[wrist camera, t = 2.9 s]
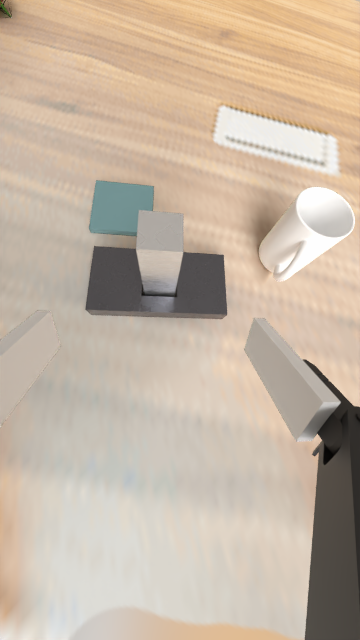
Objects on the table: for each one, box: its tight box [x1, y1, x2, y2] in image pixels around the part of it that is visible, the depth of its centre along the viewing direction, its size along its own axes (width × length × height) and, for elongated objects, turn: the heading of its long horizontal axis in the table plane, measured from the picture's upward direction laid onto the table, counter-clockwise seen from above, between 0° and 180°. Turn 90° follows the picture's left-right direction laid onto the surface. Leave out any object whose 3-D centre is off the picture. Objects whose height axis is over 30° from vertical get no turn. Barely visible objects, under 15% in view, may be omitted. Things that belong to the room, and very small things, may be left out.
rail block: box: [85, 246, 227, 319], centre depth 30 cm, size 20×10×2 cm, turn 90°
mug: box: [259, 187, 355, 282], centre depth 29 cm, size 12×8×10 cm
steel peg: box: [136, 210, 183, 297], centre depth 25 cm, size 4×4×13 cm
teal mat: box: [89, 180, 154, 236], centre depth 33 cm, size 10×10×1 cm
